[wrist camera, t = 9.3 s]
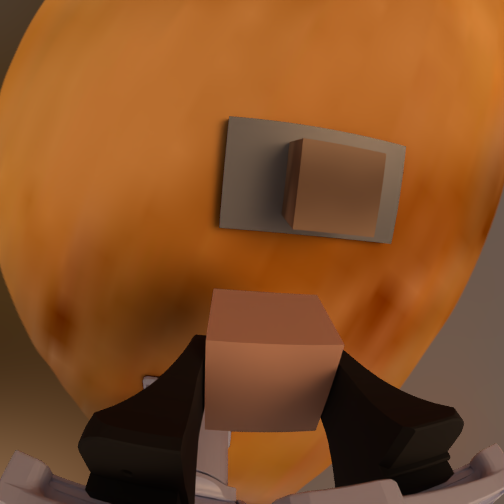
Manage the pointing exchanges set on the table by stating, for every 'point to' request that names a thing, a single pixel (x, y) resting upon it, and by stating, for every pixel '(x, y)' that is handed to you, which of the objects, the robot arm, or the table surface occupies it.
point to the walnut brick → (332, 187)
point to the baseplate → (274, 174)
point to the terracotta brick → (268, 361)
